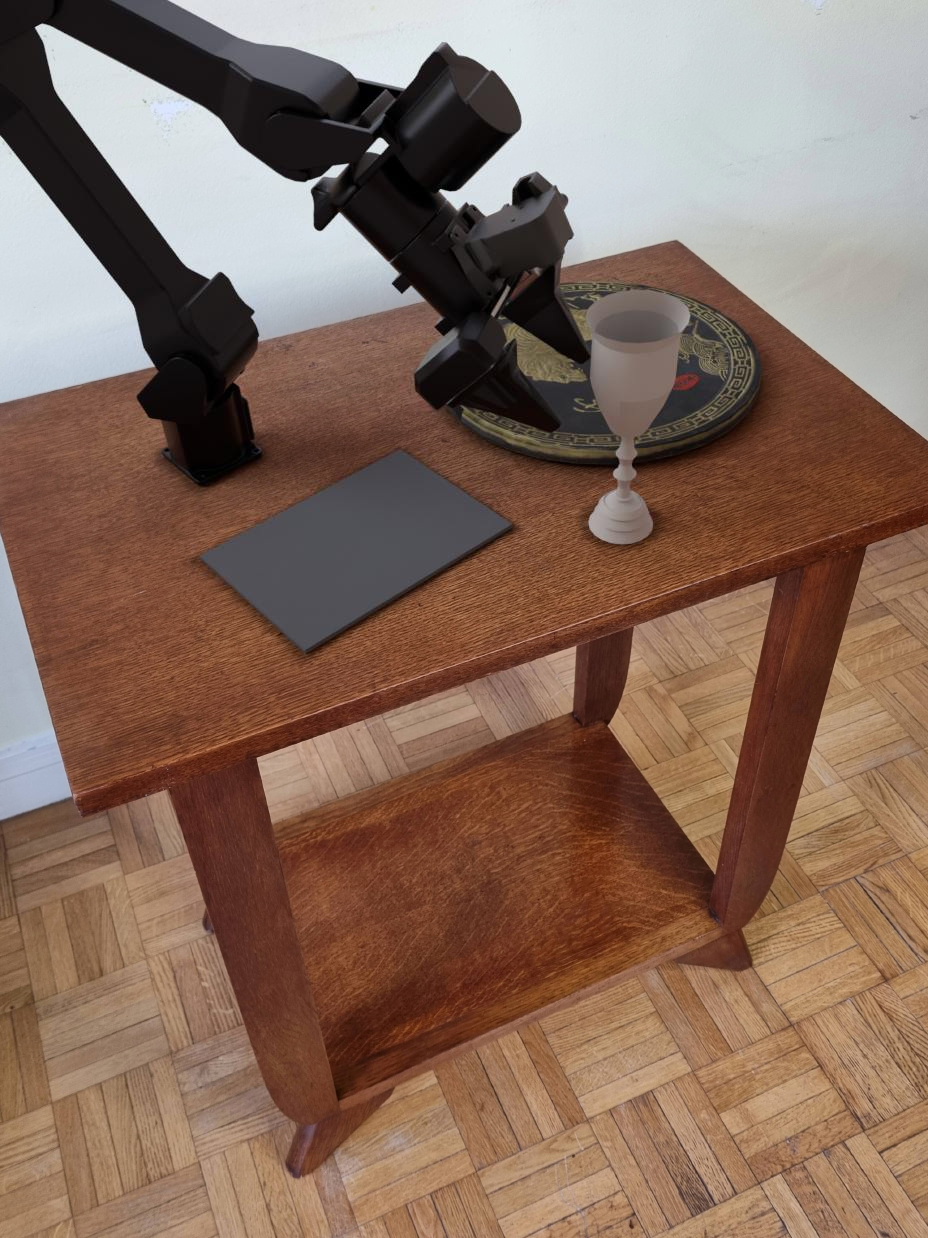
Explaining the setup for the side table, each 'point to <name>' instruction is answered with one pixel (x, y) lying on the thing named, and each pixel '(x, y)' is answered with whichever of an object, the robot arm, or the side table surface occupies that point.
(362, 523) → the felt mat
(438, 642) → the side table surface
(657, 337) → the chalice
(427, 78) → the robot arm
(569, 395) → the decorative plate
